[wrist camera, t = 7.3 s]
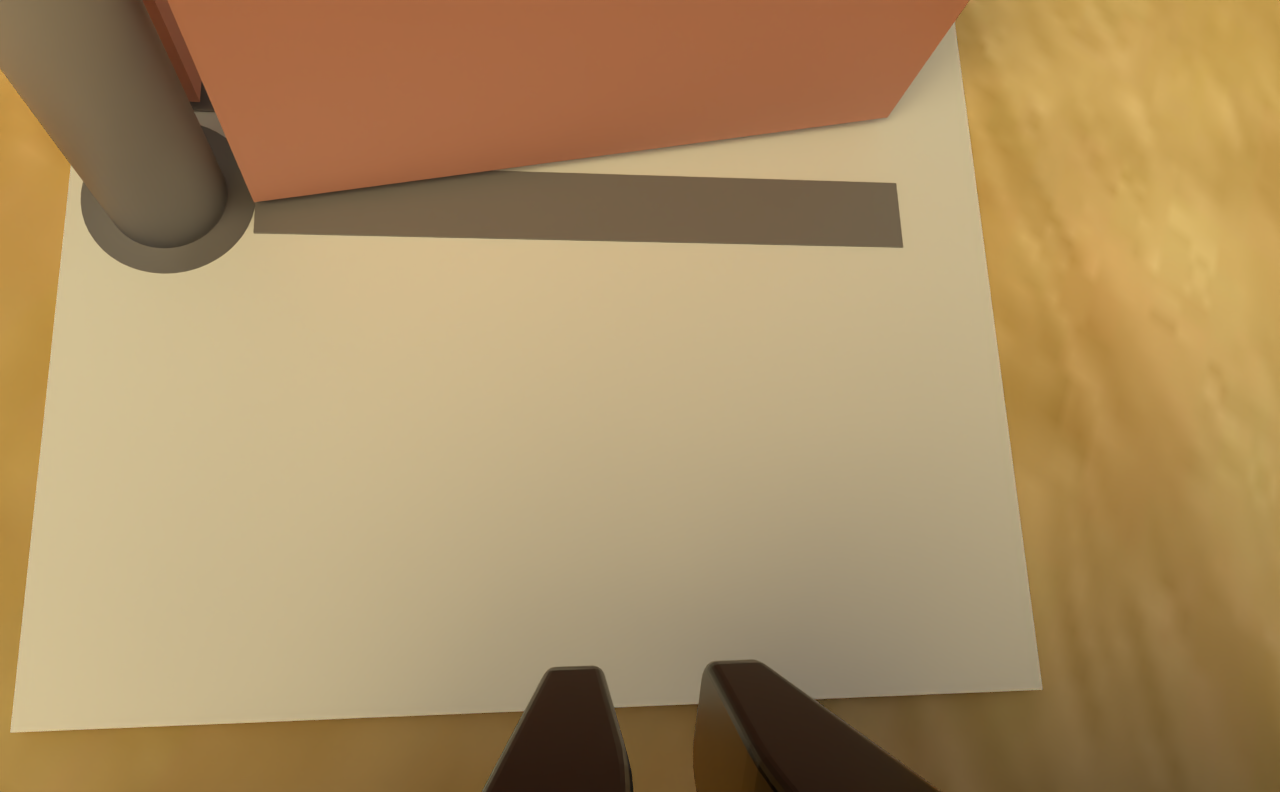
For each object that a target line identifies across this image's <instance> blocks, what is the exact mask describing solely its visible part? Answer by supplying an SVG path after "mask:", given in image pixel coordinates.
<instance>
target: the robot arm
mask: <svg viewBox="0 0 1280 792" xmlns="http://www.w3.org/2000/svg"><path fill="white" fill-rule="evenodd" d="M693 768H694V778H695V785H696V791H697V792H941V791H940V790H939V789H937V788H936V787H934V786H933V785H932V784H930V783H929V782H928V781H926V780H925V779H923V778H922V777H921V776H919V775H918V774H917V773H915V772H914V771H912V770H911V769H910V768H908V767H907V766H905V765H904V764H903V763H901V762H900V761H899V760H897V759H896V758H894V757H893V756H892V755H890V754H889V753H887V752H886V751H885V750H883V749H882V748H881V747H879V746H878V745H876V744H875V743H874V742H872V741H871V740H870V739H868V738H867V737H865V736H864V735H863V734H861V733H860V732H858V731H857V730H856V729H854V728H853V727H852V726H850V725H849V724H847V723H846V722H845V721H843V720H842V719H841V718H839V717H838V716H836V715H835V714H834V713H832V712H831V711H829V710H828V709H827V708H825V707H824V706H823V705H821V704H820V703H818V702H817V701H816V700H814V699H813V698H812V697H810V696H809V695H807V694H806V693H805V692H803V691H802V690H800V689H799V688H798V687H796V686H795V685H794V684H792V683H791V682H789V681H788V680H787V679H785V678H784V677H782V676H781V675H780V674H778V673H777V672H776V671H774V670H773V669H771V668H770V667H769V666H767V665H766V664H764V663H762V662H760V661H758V660H754V659H748V660H722V661H712V662H710V663H709V664H707V666H706V667H705V669H704V671H703V674H702V679H701V687H700V695H699V703H698V710H697V718H696V726H695V734H694V742H693ZM482 792H633V781H632V773H631V768H630V764H629V759H628V755H627V752H626V748H625V744H624V741H623V737H622V734H621V730H620V727H619V723H618V720H617V716H616V713H615V709H614V706H613V702H612V698H611V695H610V691H609V688H608V684H607V681H606V677H605V674H604V672H603V671H602V669H601V668H599V667H597V666H594V665H590V666H563V667H552V668H550V669H548V670H547V671H546V672H545V674H544V675H543V677H542V678H541V680H540V682H539V684H538V686H537V688H536V690H535V692H534V694H533V695H532V697H531V699H530V701H529V703H528V705H527V707H526V709H525V711H524V713H523V714H522V716H521V718H520V720H519V722H518V724H517V726H516V728H515V730H514V732H513V733H512V735H511V737H510V739H509V741H508V743H507V745H506V747H505V749H504V750H503V752H502V754H501V756H500V758H499V760H498V762H497V764H496V766H495V768H494V769H493V771H492V773H491V775H490V777H489V779H488V781H487V783H486V785H485V786H484V788H483V790H482Z"/></svg>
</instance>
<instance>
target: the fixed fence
mask: <svg viewBox="0 0 1280 792" xmlns="http://www.w3.org/2000/svg"><path fill="white" fill-rule="evenodd" d="M0 69H1V70H2V72H3V73H4V74H5V76H6V77H7V78H8V80H9V81H10V83H11V84H12V85H13V87H14V88H15V89H16V91H17V92H18V93H19V95H20V96H21V98H22V99H23V100H24V102H25V103H26V104H27V106H28V107H29V108H30V110H31V111H32V112H33V114H34V115H35V117H36V118H37V119H38V121H39V122H40V123H41V125H42V126H43V127H44V129H45V130H46V132H47V133H48V134H49V136H50V137H51V138H52V140H53V141H54V142H55V144H56V145H57V147H58V148H59V149H60V151H61V152H62V153H63V155H64V156H65V157H66V159H67V160H68V161H69V163H70V164H71V166H72V167H73V168H74V170H75V171H76V172H77V174H78V175H79V176H80V178H81V179H82V181H83V182H84V183H85V185H86V186H87V187H88V189H89V190H90V191H91V193H92V194H93V196H94V197H95V198H96V200H97V201H98V202H99V204H100V205H101V206H102V208H103V209H104V210H105V212H106V213H107V215H108V216H109V217H110V219H111V220H112V221H113V223H114V224H115V225H116V227H117V228H118V229H119V230H120V231H121V232H122V233H123V234H124V235H125V236H127V237H128V238H130V239H131V240H133V241H135V242H137V243H139V244H142V245H145V246H149V247H154V248H174V247H180V246H184V245H187V244H190V243H192V242H195V241H196V240H198V239H200V238H202V237H203V236H204V235H206V234H207V233H208V232H209V231H211V230H212V229H213V228H214V226H215V225H216V224H217V223H218V221H219V220H220V218H221V217H222V214H223V212H224V210H225V207H226V203H227V185H226V181H225V178H224V175H223V173H222V171H221V169H220V167H219V164H218V162H217V160H216V158H215V156H214V154H213V152H212V149H211V147H210V145H209V143H208V141H207V139H206V136H205V134H204V132H203V130H202V128H201V126H200V123H199V121H198V119H197V117H196V115H195V113H194V111H193V108H192V106H191V104H190V102H200V94H201V81H202V80H201V78H200V75H199V73H198V71H197V68H196V66H195V64H194V61H193V59H192V57H191V54H190V52H189V50H188V47H187V45H186V43H185V40H184V38H183V36H182V33H181V31H180V29H179V26H178V24H177V22H176V19H175V17H174V15H173V12H172V10H171V8H170V5H169V3H168V1H167V0H0Z"/></svg>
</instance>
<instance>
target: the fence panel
mask: <svg viewBox="0 0 1280 792" xmlns="http://www.w3.org/2000/svg"><path fill="white" fill-rule="evenodd" d="M167 1H168V3H169V5H170V8H171V10H172V12H173V15H174V17H175V19H176V22H177V24H178V26H179V29H180V31H181V33H182V36H183V38H184V40H185V43H186V45H187V47H188V50H189V52H190V54H191V57H192V59H193V61H194V64H195V66H196V68H197V71H198V73H199V75H200V78H201V80H202V82H203V85H204V87H205V89H206V92H207V94H208V96H209V99H210V101H211V103H212V106H213V108H214V110H215V113H216V115H217V117H218V120H219V122H220V124H221V127H222V129H223V131H224V134H225V136H226V138H227V141H228V143H229V145H230V148H231V150H232V152H233V155H234V157H235V159H236V162H237V164H238V166H239V169H240V171H241V173H242V176H243V178H244V180H245V183H246V185H247V187H248V190H249V192H250V194H251V197H252V199H253V201H254V202H260V201H268V200H275V199H283V198H290V197H297V196H305V195H312V194H320V193H327V192H335V191H342V190H350V189H357V188H365V187H372V186H380V185H387V184H394V183H402V182H409V181H417V180H424V179H432V178H439V177H447V176H454V175H462V174H469V173H477V172H484V171H491V170H499V169H506V168H514V167H521V166H529V165H536V164H544V163H551V162H559V161H566V160H574V159H581V158H589V157H596V156H603V155H611V154H618V153H626V152H633V151H641V150H648V149H656V148H663V147H671V146H678V145H686V144H693V143H700V142H708V141H715V140H723V139H730V138H738V137H745V136H753V135H760V134H768V133H775V132H783V131H790V130H797V129H805V128H812V127H820V126H827V125H835V124H842V123H850V122H857V121H865V120H872V119H880V118H887V117H888V116H889V115H890V113H891V112H892V110H893V109H894V107H895V106H896V105H897V103H898V102H899V100H900V99H901V97H902V96H903V95H904V93H905V92H906V90H907V89H908V87H909V86H910V85H911V83H912V82H913V80H914V79H915V77H916V76H917V75H918V73H919V72H920V70H921V69H922V67H923V66H924V65H925V63H926V62H927V60H928V59H929V57H930V56H931V55H932V53H933V52H934V50H935V49H936V47H937V46H938V45H939V43H940V42H941V40H942V39H943V37H944V36H945V35H946V33H947V32H948V30H949V29H950V28H951V26H952V25H953V23H954V22H955V20H956V19H957V18H958V16H959V15H960V13H961V12H962V10H963V9H964V8H965V6H966V5H967V3H968V2H969V0H167Z"/></svg>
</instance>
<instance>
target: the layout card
mask: <svg viewBox="0 0 1280 792" xmlns="http://www.w3.org/2000/svg"><path fill="white" fill-rule="evenodd" d="M190 104H191V106H192V108H193V111H194V113H195V115H196V117H197V119H198V121H199V123H200V126H201V128H202V130H203V132H204V134H205V136H206V139H207V141H208V143H209V145H210V147H211V149H212V152H213V154H214V156H215V158H216V160H217V162H218V164H219V167H220V169H221V171H222V173H223V175H224V178H225V181H226V185H227V203H226V207H225V210H224V212H223V214H222V217H221V218H220V220H219V221H218V223H217V224H216V225H215V226H214V228H213V229H212V230H211V231H209V232H208V233H207V234H206V235H204V236H203V237H202V238H200V239H198V240H196V241H195V242H192V243H190V244H187V245H184V246H180V247H174V248H154V247H149V246H145V245H142V244H139V243H137V242H135V241H133V240H131V239H130V238H128V237H127V236H125V235H124V234H123V233H122V232H121V231H120V230H119V229H118V228H117V227H116V225H115V224H114V223H113V221H112V220H111V219H110V217H109V216H108V215H107V213H106V212H105V210H104V209H103V208H102V206H101V205H100V204H99V202H98V201H97V200H96V198H95V197H94V196H93V194H92V193H91V191H90V190H89V189H88V187H87V186H86V185H85V183H84V182H83V181H82V179H81V178H80V176H79V175H78V174H77V172H76V171H75V170H74V168H73V167H72V166H71V170H70V179H69V188H68V198H67V207H66V216H65V226H64V235H63V244H62V254H61V263H60V272H59V282H58V291H57V300H56V310H55V319H54V328H53V338H52V347H51V356H50V366H49V375H48V385H47V394H46V403H45V413H44V422H43V431H42V441H41V450H40V459H39V469H38V478H37V487H36V497H35V506H34V515H33V525H32V534H31V543H30V553H29V562H28V571H27V581H26V590H25V599H24V609H23V618H22V628H21V637H20V646H19V656H18V665H17V674H16V684H15V693H14V702H13V712H12V721H11V730H10V733H12V732H36V731H60V730H84V729H108V728H132V727H156V726H180V725H205V724H229V723H253V722H277V721H301V720H325V719H349V718H374V717H398V716H422V715H446V714H470V713H494V712H518V711H525V709H526V707H527V705H528V703H529V701H530V699H531V697H532V695H533V694H534V692H535V690H536V688H537V686H538V684H539V682H540V680H541V678H542V677H543V675H544V674H545V672H546V671H547V670H548V669H550V668H552V667H563V666H590V665H594V666H597V667H599V668H601V669H602V671H603V672H604V674H605V677H606V681H607V684H608V688H609V691H610V695H611V698H612V702H613V706H614V708H615V707H639V706H663V705H687V704H698V703H699V695H700V687H701V679H702V674H703V671H704V669H705V667H706V666H707V664H709V663H710V662H712V661H722V660H748V659H754V660H758V661H760V662H762V663H764V664H766V665H767V666H769V667H770V668H771V669H773V670H774V671H776V672H777V673H778V674H780V675H781V676H782V677H784V678H785V679H787V680H788V681H789V682H791V683H792V684H794V685H795V686H796V687H798V688H799V689H800V690H802V691H803V692H805V693H806V694H807V695H809V696H810V697H812V698H813V699H832V698H856V697H880V696H904V695H929V694H953V693H977V692H1001V691H1025V690H1043V688H1042V680H1041V673H1040V665H1039V657H1038V650H1037V642H1036V635H1035V627H1034V619H1033V612H1032V604H1031V597H1030V589H1029V581H1028V574H1027V566H1026V559H1025V551H1024V544H1023V536H1022V528H1021V521H1020V513H1019V506H1018V498H1017V490H1016V483H1015V475H1014V468H1013V460H1012V452H1011V445H1010V437H1009V430H1008V422H1007V415H1006V407H1005V399H1004V392H1003V384H1002V377H1001V369H1000V361H999V354H998V346H997V339H996V331H995V323H994V316H993V308H992V301H991V293H990V286H989V278H988V270H987V263H986V255H985V248H984V240H983V232H982V225H981V217H980V210H979V202H978V195H977V187H976V179H975V172H974V164H973V157H972V149H971V141H970V134H969V126H968V119H967V111H966V103H965V96H964V88H963V81H962V73H961V66H960V58H959V50H958V43H957V35H956V28H955V22H954V23H953V25H952V26H951V28H950V29H949V30H948V32H947V33H946V35H945V36H944V37H943V39H942V40H941V42H940V43H939V45H938V46H937V47H936V49H935V50H934V52H933V53H932V55H931V56H930V57H929V59H928V60H927V62H926V63H925V65H924V66H923V67H922V69H921V70H920V72H919V73H918V75H917V76H916V77H915V79H914V80H913V82H912V83H911V85H910V86H909V87H908V89H907V90H906V92H905V93H904V95H903V96H902V97H901V99H900V100H899V102H898V103H897V105H896V106H895V107H894V109H893V110H892V112H891V113H890V115H889V116H888V117H887V118H880V119H872V120H865V121H857V122H850V123H842V124H835V125H827V126H820V127H812V128H805V129H797V130H790V131H783V132H775V133H768V134H760V135H753V136H745V137H738V138H730V139H723V140H715V141H708V142H700V143H693V144H686V145H678V146H671V147H663V148H656V149H648V150H641V151H633V152H626V153H618V154H611V155H603V156H596V157H589V158H581V159H574V160H566V161H559V162H551V163H544V164H536V165H529V166H521V167H514V168H506V169H499V170H491V171H484V172H477V173H469V174H462V175H454V176H447V177H439V178H432V179H424V180H417V181H409V182H402V183H394V184H387V185H380V186H372V187H365V188H357V189H350V190H342V191H335V192H327V193H320V194H312V195H305V196H297V197H290V198H283V199H275V200H268V201H260V202H254V201H253V199H252V197H251V194H250V192H249V190H248V187H247V185H246V183H245V180H244V178H243V176H242V173H241V171H240V169H239V166H238V164H237V162H236V159H235V157H234V155H233V152H232V150H231V148H230V145H229V143H228V141H227V138H226V136H225V134H224V131H223V129H222V127H221V124H220V122H219V120H218V117H217V115H216V113H215V110H214V108H213V106H212V103H211V101H210V99H209V96H208V94H207V92H206V89H205V87H204V85H203V82H202V81H201V94H200V102H190Z"/></svg>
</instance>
